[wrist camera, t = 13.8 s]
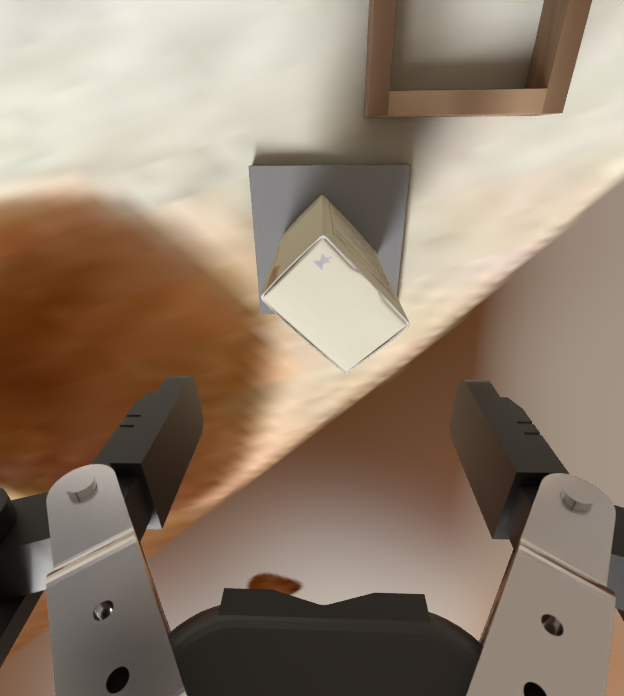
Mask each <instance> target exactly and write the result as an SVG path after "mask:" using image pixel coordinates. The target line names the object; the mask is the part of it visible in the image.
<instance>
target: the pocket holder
mask: <svg viewBox="0 0 624 696" xmlns="http://www.w3.org/2000/svg"><path fill="white" fill-rule="evenodd" d="M591 2H592V0H544V4H543V9H542V13H541V18H540V22H539V27H538V32H537V36H536V41H535V45H534V50H533V55H532V59H531V64H530V68H529V73H528V78H527V82H526V87H525V89H489V90H427V91H390V80H391V67H392V53H393V40H394V26H395V13H396V0H369V20H368V40H367V61H366V82H365V103H364V118H400V117H474V116H539V115H548V114H557V113H563V109H564V105H565V101H566V97H567V94H568V90H569V86H570V82H571V78H572V75H573V71H574V67H575V63H576V59H577V56H578V52H579V48H580V44H581V40H582V37H583V33H584V29H585V25H586V21H587V18H588V14H589V10H590V6H591Z"/></svg>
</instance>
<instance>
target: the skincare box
mask: <svg viewBox="0 0 624 696" xmlns="http://www.w3.org/2000/svg"><path fill="white" fill-rule="evenodd" d="M261 299H262V301H263V302H264V303H265V304H266V305H267V306H268V307H269V308H270V309H271V310H272V311H274V312H275V313H276V314H277V315H278V316H279V317H280V318H281V319H282V320H283V321H284V322H285V323H286V324H287V325H288V326H289V327H291V328H292V329H293V330H294V331H295V332H296V333H298V334H299V335H300V336H301V337H302V338H303V339H304V340H305V341H307V342H308V343H309V344H310V345H311V346H312V347H313V348H315V349H316V350H317V351H318V352H319V353H321V354H322V355H323V356H324V357H325V358H327V359H328V360H329V361H330V362H331V363H333V364H334V365H335V366H336V367H338V368H339V369H340V370H341V371H342V372H344V373H348V372H349V371H351V370H352V369H353V368H355V367H356V366H357V365H359V364H360V363H362V362H363V361H365V360H366V359H367V358H369V357H370V356H372V355H373V354H374V353H376V352H377V351H378V350H380V349H381V348H382V347H384V346H385V345H387V344H388V343H389V342H391V341H392V340H393V339H395V338H396V337H397V336H398V335H400V334H401V333H402V332H404V331H405V330H406V329H408V327H409V321H408V319H407V317H406V315H405V313H404V311H403V309H402V306H401V304H400V302H399V300H398V298H397V296H396V294H395V291H394V289H393V287H392V285H391V283H390V281H389V279H388V276H387V274H386V272H385V270H384V268H383V266H382V264H381V261H380V259H379V257H378V255H377V253H376V251H375V250H374V249H373V248H372V247H371V246H370V244H369V243H368V242H367V241H366V240H365V239H364V237H363V236H362V235H361V234H360V233H359V232H358V231H357V230H356V229H355V227H354V226H353V225H352V224H351V223H350V222H349V221H348V220H347V219H346V218H345V217H344V216H343V215H342V213H341V212H340V211H339V210H338V209H337V208H336V207H335V206H334V205H333V204H332V203H331V202H330V201H329V200H328V199H327V198H326V197H325V196H324V195H321V196H320V197H318V198H317V199H316V200H315V201H314V202H313V203H312V204H311V205H310V206H309V207H308V208H307V209H306V210H305V211H304V212H303V213H302V214H301V215H300V216H299V217H298V218H297V219H296V220H295V222H294V223H293V224H292V225H291V226H290V227H289V228H288V229H287V230H286V232H285V233H284V234H283V236H282V238H281V241H280V244H279V247H278V249H277V252H276V255H275V258H274V260H273V263H272V266H271V268H270V271H269V274H268V277H267V280H266V283H265V286H264V288H263V291H262V294H261Z"/></svg>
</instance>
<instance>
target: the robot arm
mask: <svg viewBox="0 0 624 696" xmlns="http://www.w3.org/2000/svg"><path fill="white" fill-rule="evenodd" d="M202 429H203V414H202V409H201V404H200V398H199V393H198V388H197V383H196V379H195V378H194V377H193V376H168V377H166V379H165V380H164V382H163V383H162V385H161V386H160V388H159V389H158V391H157V392H149V393H148V394H146V395H145V396H144V397H142V398H141V399H140V400H138V401H137V402H135V404H134V405H133V407H132V408H131V409H130V411H129V412H128V414H127V417H125V418H124V419H123V421H122V422H121V423H120V426H119V428H117V429H116V430H115V432H114V433H113V435H112V436H111V437H110V439H109V440H108V442H107V443H106V444H105V446H104V447H103V449H102V450H101V451H100V453H99V454H98V456H97V457H96V458H95V460H94V461H93V463H92V464H91V465H87V466H83V467H80V468H77V469H75V470H73V471H71V472H69V473H68V474H66V475H64V476H63V477H62V478H60V479H59V480H58V481H57V482H56V483H55V484H54V485H53V486H52V488H51V489H50V491H49V492H46V493H42V494H37V495H33V496H29V497H24V498H20V499H16V500H10V498H9V496H8V495H7V493H6V491H5V490H4V489H2V488H0V667H1V666H2V664H3V662H4V660H5V659H6V657H7V655H8V653H9V651H10V650H11V648H12V646H13V644H14V643H15V641H16V639H17V637H18V635H19V634H20V632H21V630H22V628H23V627H24V625H25V623H26V621H27V619H28V618H29V616H30V614H31V612H32V611H33V609H34V607H35V605H36V604H37V602H38V600H39V598H40V596H41V595H42V593H43V591H44V590H45V589H46V594H47V605H48V616H49V627H50V638H51V648H52V659H53V671H54V681H55V692H56V696H606V687H607V677H608V668H609V659H610V650H611V640H612V631H613V622H614V613H615V608H617V610H618V612H619V613H620V615H621V617H622V619H623V621H624V508H622V507H619V506H615V505H613V503H612V502H611V500H610V499H609V497H607V495H606V494H605V493H604V492H602V491H601V490H600V489H599V488H597V487H596V486H595V485H593V484H591V483H590V482H588V481H586V480H584V479H582V478H579V477H577V476H573V475H570V474H569V473H568V471H567V470H566V469H565V467H564V466H563V464H562V463H561V462H560V460H559V459H558V457H557V456H556V455H555V453H554V452H553V450H552V449H551V448H550V447H549V445H548V443H547V442H546V441H545V439H544V438H543V436H541V435H540V432H539V431H538V430H537V428H536V427H535V425H534V424H532V421H531V420H530V418H529V417H528V416H527V414H526V413H525V411H524V410H523V409H522V408H521V407H519V406H518V405H517V404H515V403H514V402H513V401H511V400H510V399H509V398H507V397H506V398H505V397H500V396H499V395H498V393H497V392H496V390H495V389H494V387H493V386H492V384H491V383H490V382H489V381H487V380H461V381H460V383H459V385H458V388H457V393H456V398H455V403H454V407H453V411H452V416H451V421H450V433H451V439H452V442H453V444H454V447H455V449H456V452H457V454H458V456H459V459H460V461H461V464H462V466H463V469H464V471H465V473H466V476H467V478H468V481H469V483H470V486H471V488H472V490H473V493H474V495H475V498H476V500H477V503H478V505H479V507H480V510H481V512H482V515H483V517H484V520H485V522H486V524H487V527H488V529H489V532H490V534H491V536H492V539H510V542H511V544H512V546H513V548H514V549H513V551H512V554H511V556H510V559H509V562H508V565H507V567H506V570H505V573H504V576H503V578H502V581H501V584H500V586H499V589H498V592H497V594H496V597H495V600H494V603H493V605H492V608H491V611H490V614H489V616H488V619H487V622H486V624H485V627H484V629H483V632H482V634H481V637H480V639H479V641H477V640H476V639H475V638H474V637H473V636H472V635H470V634H469V633H468V632H466V631H465V630H463V629H462V628H461V627H459V626H457V625H456V624H454V623H452V622H450V621H449V620H447V619H445V618H443V617H441V616H438V615H436V614H433V613H430V612H428V609H427V604H426V599H425V595H424V594H396V593H372V594H368V595H364V596H360V597H357V598H352V599H349V600H345V601H341V602H337V603H333V604H329V605H319V604H316V603H312V602H309V601H306V600H303V599H300V598H297V597H294V596H291V595H288V594H285V593H281V592H278V591H275V590H266V589H233V588H224V592H223V596H222V601H221V605H219V606H215V607H212V608H210V609H207V610H205V611H202V612H200V613H198V614H196V615H194V616H193V617H191V618H189V619H188V620H186V621H185V622H183V623H182V624H180V625H179V626H177V627H176V628H175V629H174V630H172V631H171V630H170V627H169V624H168V621H167V619H166V615H165V613H164V610H163V607H162V604H161V601H160V598H159V595H158V592H157V589H156V586H155V583H154V580H153V577H152V574H151V571H150V568H149V565H148V562H147V559H146V556H145V553H144V550H143V547H142V544H141V542H140V541H141V539H142V537H143V535H144V533H145V530H146V529H162V528H163V526H164V523H165V521H166V518H167V516H168V514H169V511H170V509H171V506H172V504H173V502H174V499H175V497H176V494H177V492H178V490H179V487H180V485H181V482H182V480H183V478H184V475H185V473H186V470H187V468H188V466H189V463H190V461H191V459H192V456H193V454H194V451H195V449H196V447H197V444H198V442H199V439H200V437H201V434H202Z"/></svg>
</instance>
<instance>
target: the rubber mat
mask: <svg viewBox="0 0 624 696" xmlns="http://www.w3.org/2000/svg"><path fill="white" fill-rule="evenodd" d="M409 175H410V165H409V164H349V165H251V166H249V177H250V189H251V201H252V214H253V226H254V238H255V250H256V263H257V275H258V287H259V299H260V312H261V314H276V313H275V312H274V311H272V310H271V309H270V308H269V307H268V306H267V305H266V304H265V303H264V302H263V301H262V299H261V294H262V291H263V288H264V286H265V283H266V280H267V277H268V274H269V271H270V268H271V266H272V263H273V260H274V258H275V255H276V252H277V249H278V247H279V244H280V241H281V238H282V236H283V234H284V233H285V232H286V230H287V229H288V228H289V227H290V226H291V225H292V224H293V223H294V222H295V220H296V219H297V218H298V217H299V216H300V215H301V214H302V213H303V212H304V211H305V210H306V209H307V208H308V207H309V206H310V205H311V204H312V203H313V202H314V201H315V200H316V199H317V198H318V197H320V196H321V195H324V196H325V197H326V198H327V199H328V200H329V201H330V202H331V203H332V204H333V205H334V206H335V207H336V208H337V209H338V210H339V211H340V212H341V213H342V215H343V216H344V217H345V218H346V219H347V220H348V221H349V222H350V223H351V224H352V225H353V226H354V227H355V229H356V230H357V231H358V232H359V233H360V234H361V235H362V236H363V237H364V239H365V240H366V241H367V242H368V243H369V244H370V246H371V247H372V248H373V249H374V250H375V251H376V253H377V255H378V257H379V259H380V261H381V264H382V266H383V268H384V270H385V272H386V274H387V276H388V279H389V281H390V283H391V285H392V287H393V289H394V291H395V294H396V296H397V290H398V280H399V271H400V261H401V252H402V242H403V232H404V223H405V213H406V204H407V194H408V185H409Z"/></svg>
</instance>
